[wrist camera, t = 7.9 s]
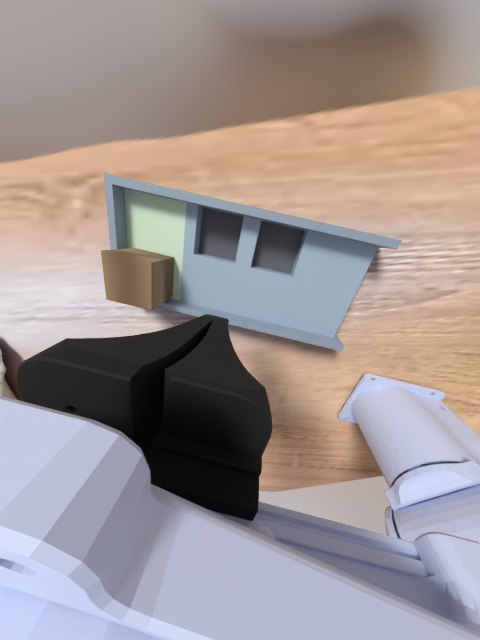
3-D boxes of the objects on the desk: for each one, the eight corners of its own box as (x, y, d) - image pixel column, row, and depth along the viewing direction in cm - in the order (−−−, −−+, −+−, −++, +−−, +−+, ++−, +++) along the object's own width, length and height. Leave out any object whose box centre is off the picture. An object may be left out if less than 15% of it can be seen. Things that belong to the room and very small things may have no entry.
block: (174, 257, 18) (151, 262, 14) (172, 296, 19) (151, 310, 16) (134, 247, 18) (100, 250, 14) (135, 287, 19) (106, 299, 16)
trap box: (379, 240, 16) (401, 240, 14) (331, 336, 21) (341, 351, 18) (129, 183, 17) (103, 173, 14) (134, 289, 21) (115, 296, 19)
